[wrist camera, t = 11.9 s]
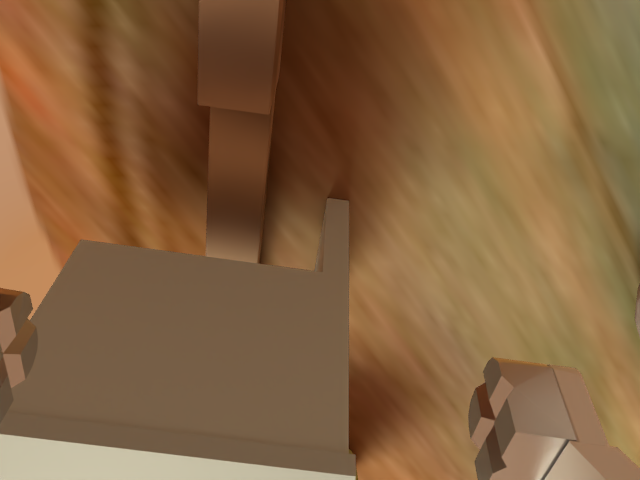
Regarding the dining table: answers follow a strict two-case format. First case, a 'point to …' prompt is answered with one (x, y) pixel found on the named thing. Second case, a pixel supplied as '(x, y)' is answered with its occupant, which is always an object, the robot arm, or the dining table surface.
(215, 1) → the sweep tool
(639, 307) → the coffee pot
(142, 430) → the grey cube on pedestal
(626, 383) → the dining table surface
